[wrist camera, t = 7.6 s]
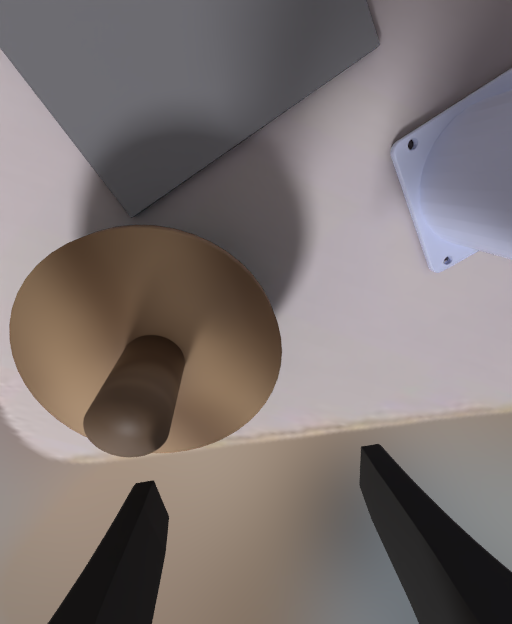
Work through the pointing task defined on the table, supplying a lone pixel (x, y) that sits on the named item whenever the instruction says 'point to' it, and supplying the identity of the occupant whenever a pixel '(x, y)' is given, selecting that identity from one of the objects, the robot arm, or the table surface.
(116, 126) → the mat
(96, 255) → the lid
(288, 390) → the table surface
